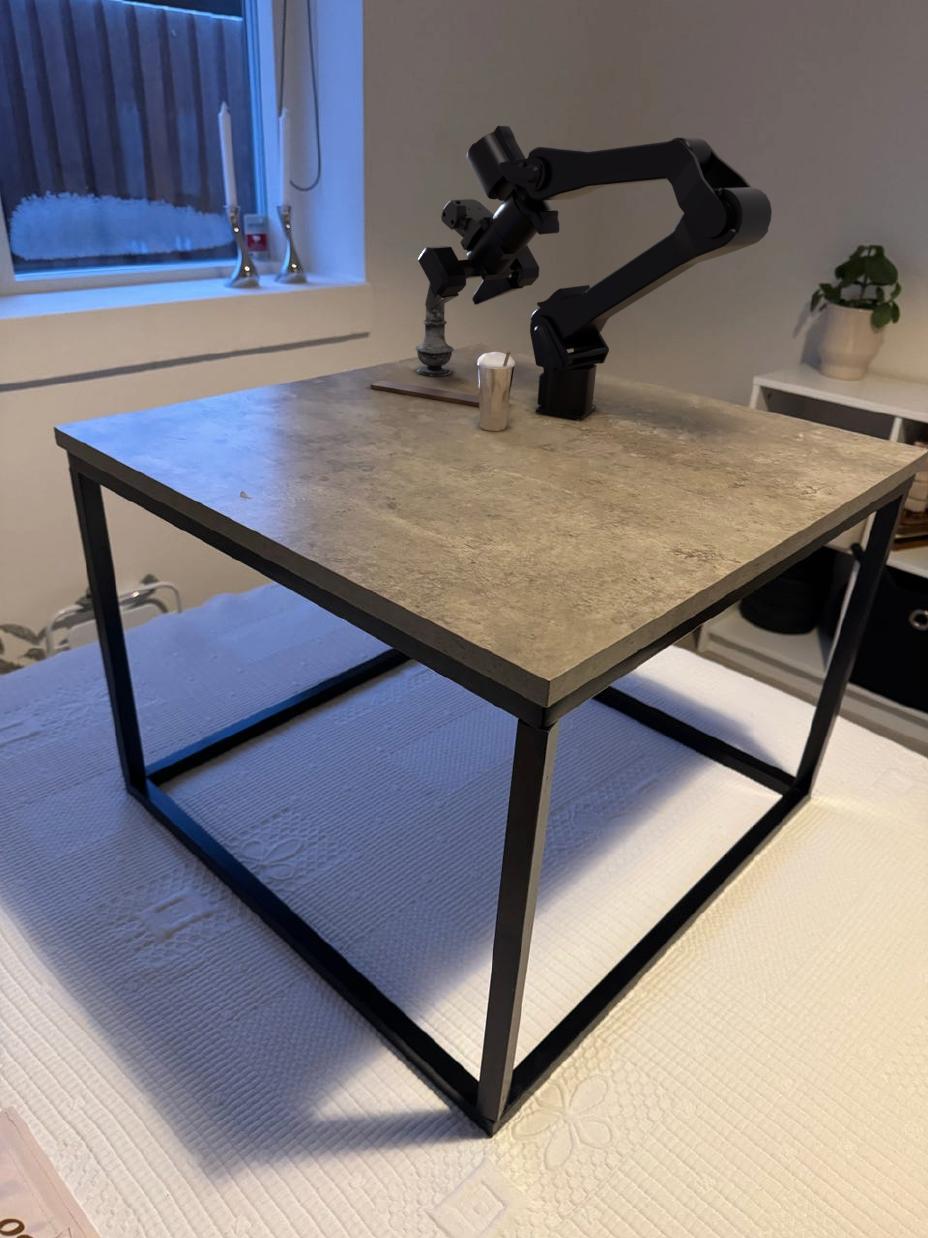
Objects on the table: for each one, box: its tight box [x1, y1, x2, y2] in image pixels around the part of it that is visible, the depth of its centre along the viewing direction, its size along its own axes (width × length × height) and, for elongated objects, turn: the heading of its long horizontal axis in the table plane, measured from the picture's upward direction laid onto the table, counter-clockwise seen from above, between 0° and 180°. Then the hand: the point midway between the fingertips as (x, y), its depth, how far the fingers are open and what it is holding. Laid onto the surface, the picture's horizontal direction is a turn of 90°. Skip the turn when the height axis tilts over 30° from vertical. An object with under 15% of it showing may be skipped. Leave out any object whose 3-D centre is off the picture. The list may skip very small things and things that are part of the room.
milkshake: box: [476, 350, 516, 432], centre depth 105 cm, size 4×5×10 cm
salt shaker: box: [414, 303, 455, 377], centre depth 128 cm, size 6×6×12 cm
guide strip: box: [370, 379, 480, 408], centre depth 119 cm, size 20×3×1 cm, turn 63°
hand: (451, 304), depth 124 cm, fingers open, 9 cm apart
